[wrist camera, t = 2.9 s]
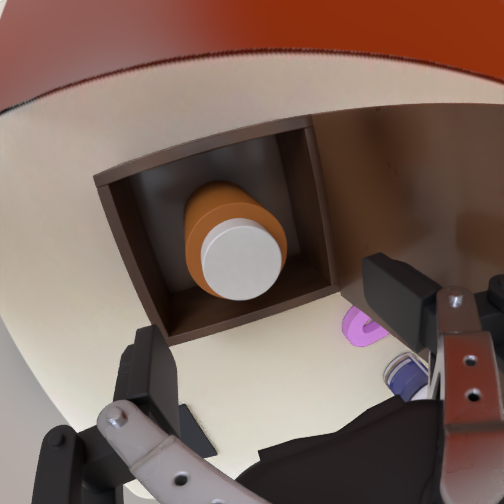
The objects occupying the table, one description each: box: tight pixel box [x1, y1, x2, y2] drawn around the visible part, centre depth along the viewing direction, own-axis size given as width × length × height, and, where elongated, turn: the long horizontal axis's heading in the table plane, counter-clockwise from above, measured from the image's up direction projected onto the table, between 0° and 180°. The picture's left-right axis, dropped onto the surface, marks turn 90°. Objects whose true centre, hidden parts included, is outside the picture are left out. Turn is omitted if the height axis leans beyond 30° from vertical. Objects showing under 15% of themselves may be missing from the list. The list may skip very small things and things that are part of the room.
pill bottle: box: [384, 353, 428, 402], centre depth 34 cm, size 6×6×10 cm
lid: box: [312, 103, 504, 412], centre depth 13 cm, size 14×13×1 cm
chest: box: [93, 114, 340, 347], centre depth 23 cm, size 14×13×7 cm
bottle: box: [184, 180, 287, 300], centre depth 20 cm, size 6×6×11 cm
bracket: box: [342, 306, 390, 347], centre depth 31 cm, size 13×6×7 cm, turn 110°
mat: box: [179, 404, 217, 458], centre depth 34 cm, size 12×12×1 cm
